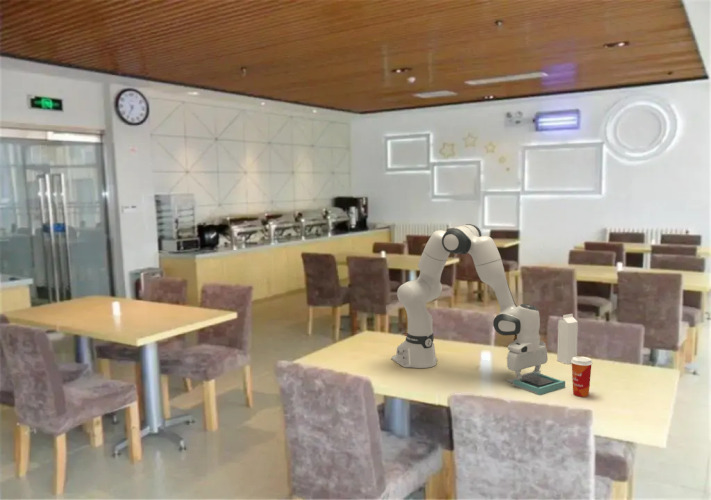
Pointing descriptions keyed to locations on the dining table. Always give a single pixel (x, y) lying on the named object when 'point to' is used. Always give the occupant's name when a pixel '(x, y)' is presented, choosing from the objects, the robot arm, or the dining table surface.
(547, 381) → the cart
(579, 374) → the paper cup
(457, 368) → the dining table surface
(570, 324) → the milk
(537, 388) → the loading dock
